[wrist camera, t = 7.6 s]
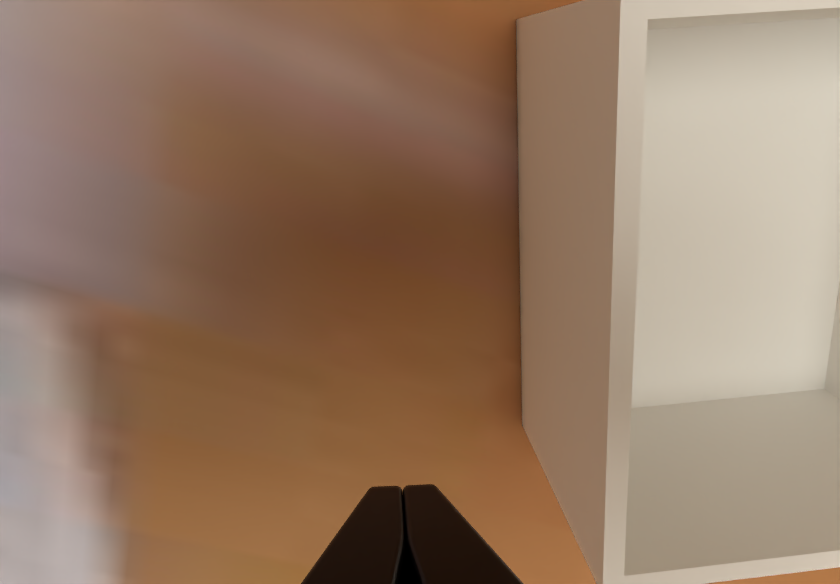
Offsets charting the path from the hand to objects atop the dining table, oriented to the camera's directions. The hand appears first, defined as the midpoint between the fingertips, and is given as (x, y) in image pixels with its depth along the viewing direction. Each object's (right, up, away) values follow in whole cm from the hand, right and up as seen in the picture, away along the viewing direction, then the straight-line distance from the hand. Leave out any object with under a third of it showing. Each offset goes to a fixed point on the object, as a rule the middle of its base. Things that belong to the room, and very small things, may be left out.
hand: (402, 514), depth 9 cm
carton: (+9, +5, +13) cm, 16 cm away
